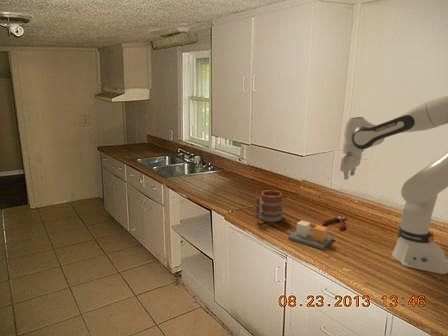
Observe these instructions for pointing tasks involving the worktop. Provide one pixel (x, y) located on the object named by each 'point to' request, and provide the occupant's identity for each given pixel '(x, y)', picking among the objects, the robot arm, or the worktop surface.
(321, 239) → the orange matte cube
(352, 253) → the worktop surface
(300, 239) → the plate
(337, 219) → the pliers
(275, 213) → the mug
